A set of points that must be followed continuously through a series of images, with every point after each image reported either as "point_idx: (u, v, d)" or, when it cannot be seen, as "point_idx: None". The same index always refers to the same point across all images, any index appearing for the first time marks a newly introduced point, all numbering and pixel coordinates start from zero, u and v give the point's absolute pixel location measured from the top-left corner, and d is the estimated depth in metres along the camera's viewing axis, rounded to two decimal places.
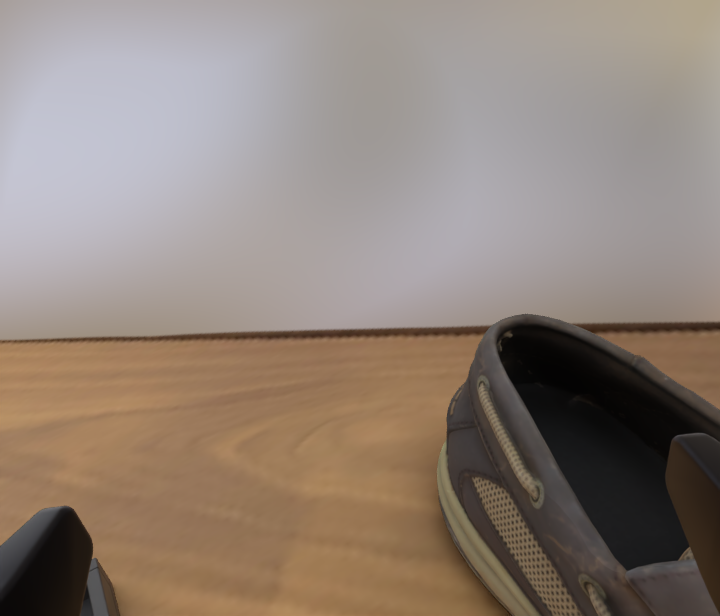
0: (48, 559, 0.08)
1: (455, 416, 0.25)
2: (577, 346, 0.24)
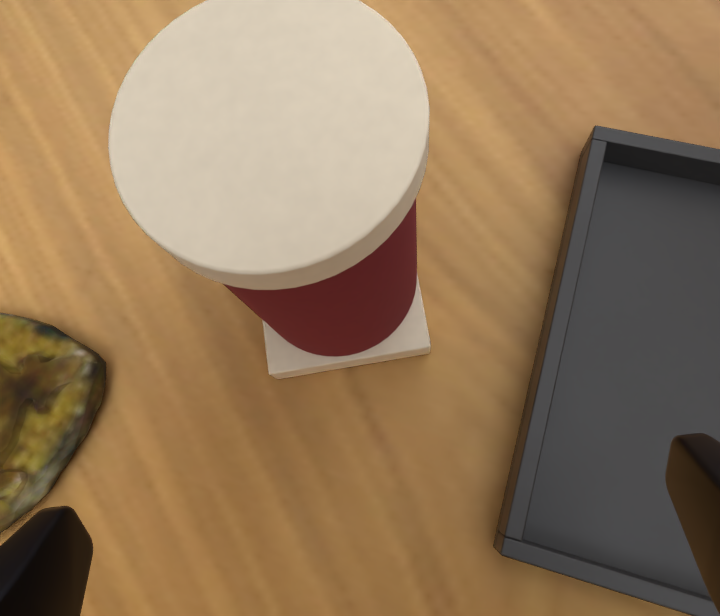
0: (48, 559, 0.08)
1: None
2: None
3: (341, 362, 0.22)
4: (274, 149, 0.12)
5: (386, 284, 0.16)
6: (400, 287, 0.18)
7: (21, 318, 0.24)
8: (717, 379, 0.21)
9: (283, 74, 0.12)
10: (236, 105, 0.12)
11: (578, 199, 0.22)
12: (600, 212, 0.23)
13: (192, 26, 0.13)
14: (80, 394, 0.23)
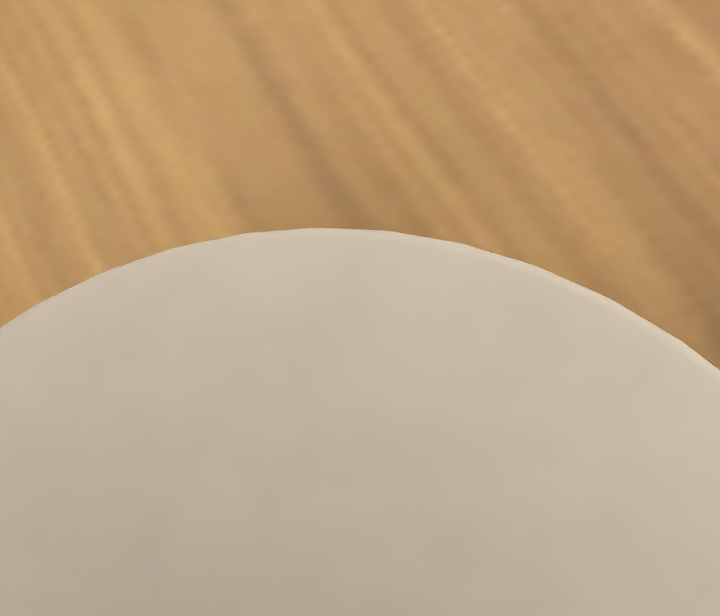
0: None
1: None
2: None
3: None
4: None
5: None
6: None
7: None
8: None
9: None
10: None
11: None
12: None
13: (28, 390, 0.03)
14: None
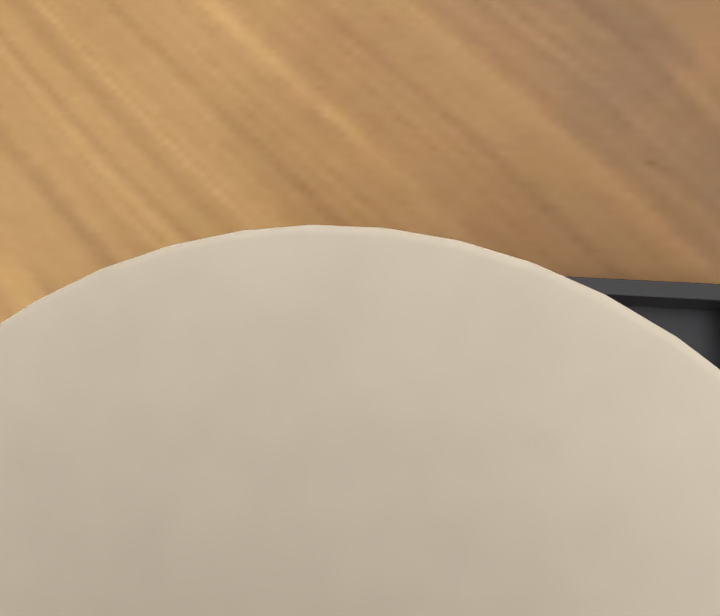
0: None
1: None
2: None
3: None
4: None
5: None
6: None
7: None
8: None
9: None
10: None
11: None
12: None
13: (26, 387, 0.03)
14: None
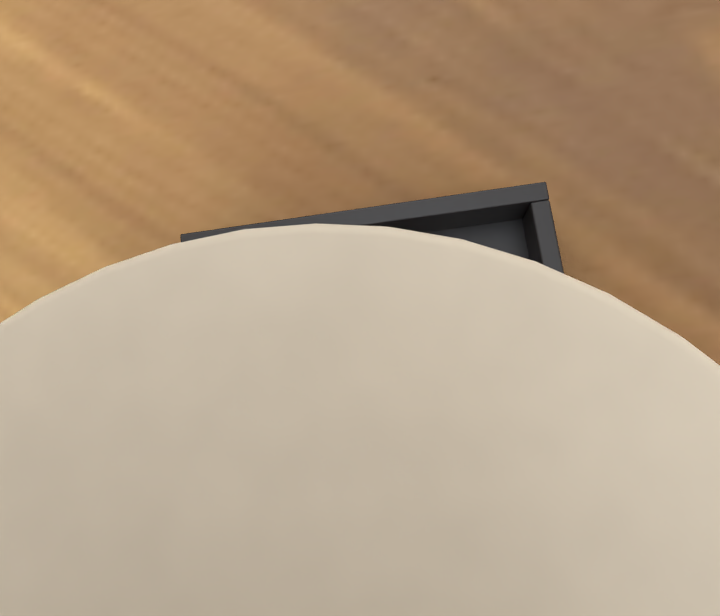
0: None
1: None
2: None
3: None
4: None
5: None
6: None
7: None
8: None
9: None
10: None
11: None
12: None
13: (28, 386, 0.03)
14: None
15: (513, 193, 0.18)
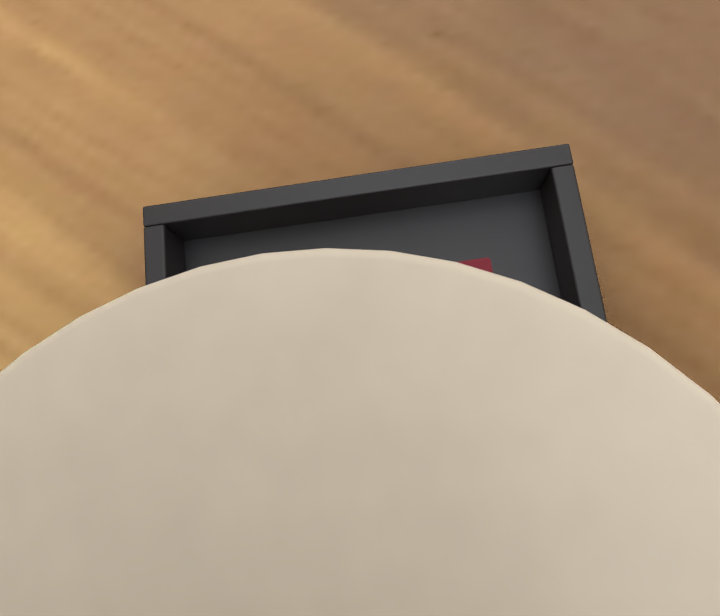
0: None
1: None
2: None
3: None
4: None
5: None
6: None
7: None
8: None
9: None
10: None
11: None
12: None
13: (72, 394, 0.04)
14: None
15: (531, 157, 0.16)
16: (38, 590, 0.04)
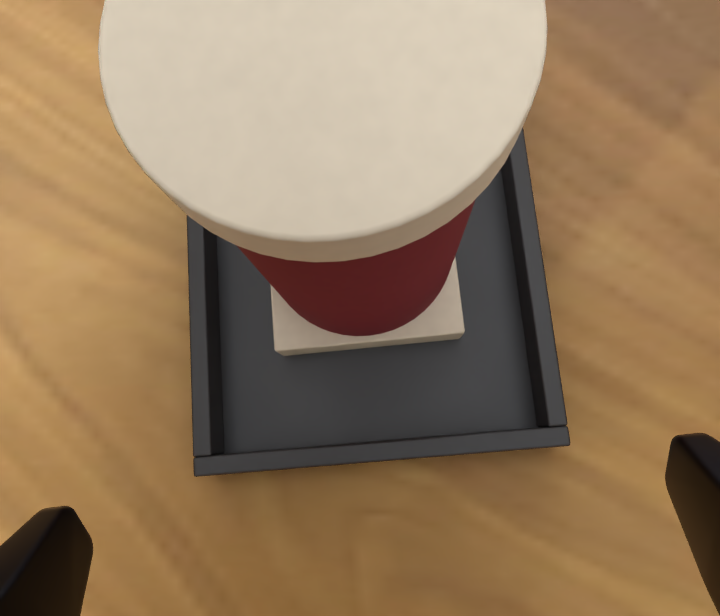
0: (48, 559, 0.08)
1: None
2: None
3: (360, 343, 0.19)
4: (330, 68, 0.09)
5: (437, 260, 0.13)
6: (447, 263, 0.15)
7: None
8: None
9: None
10: (279, 3, 0.09)
11: None
12: None
13: None
14: None
15: None
16: None
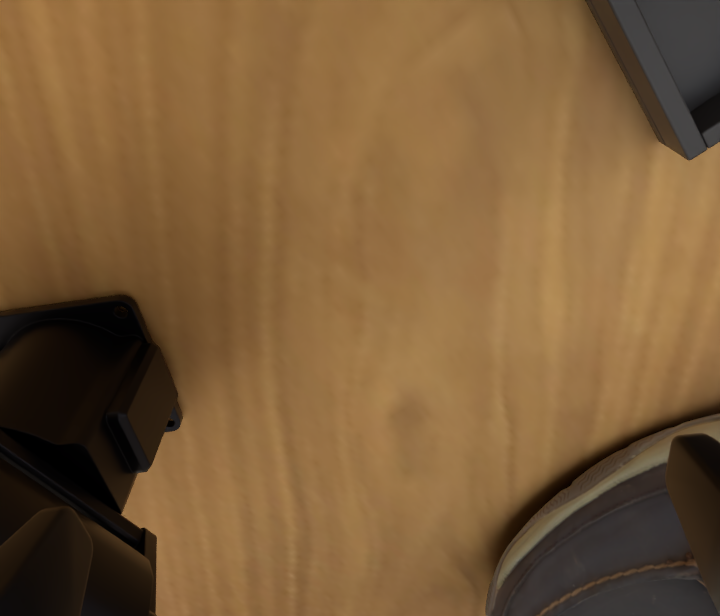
0: (48, 559, 0.08)
1: None
2: None
3: None
4: None
5: None
6: None
7: None
8: None
9: None
10: None
11: None
12: None
13: None
14: None
15: None
16: None
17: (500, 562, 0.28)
